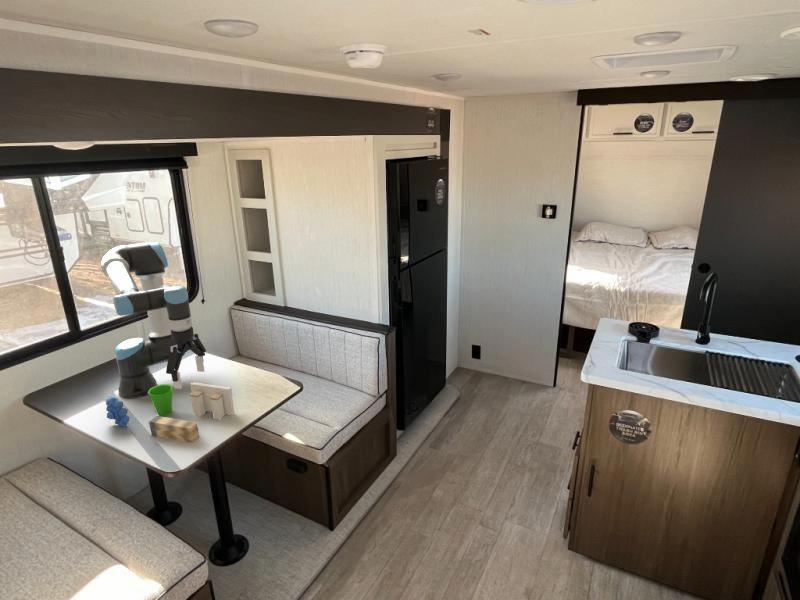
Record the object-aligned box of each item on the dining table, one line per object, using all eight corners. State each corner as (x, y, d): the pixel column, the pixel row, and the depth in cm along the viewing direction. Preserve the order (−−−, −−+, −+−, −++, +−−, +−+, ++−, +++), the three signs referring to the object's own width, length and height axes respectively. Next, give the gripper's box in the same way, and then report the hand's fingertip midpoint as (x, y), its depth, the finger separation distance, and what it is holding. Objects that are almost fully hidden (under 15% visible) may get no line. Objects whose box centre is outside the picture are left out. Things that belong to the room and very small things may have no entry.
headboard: (187, 414, 188) (183, 388, 184) (196, 407, 193) (192, 382, 189) (226, 421, 184) (222, 394, 180) (234, 413, 189) (231, 387, 185)
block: (151, 435, 175) (148, 421, 173) (159, 429, 179) (156, 415, 177) (192, 442, 171) (189, 428, 169) (199, 436, 174) (197, 422, 172)
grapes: (100, 426, 180) (93, 399, 176) (117, 417, 186) (111, 391, 182) (119, 434, 175) (112, 407, 171) (135, 425, 181) (130, 398, 177)
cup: (151, 421, 184) (146, 397, 180) (153, 410, 191) (148, 386, 188) (176, 416, 187) (172, 392, 183) (177, 405, 195) (172, 382, 191)
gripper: (167, 342, 157) (177, 396, 164) (210, 317, 180) (217, 365, 187) (148, 340, 159) (158, 394, 166) (193, 315, 182) (201, 364, 189)
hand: (190, 379), depth 176 cm, fingers open, 13 cm apart
